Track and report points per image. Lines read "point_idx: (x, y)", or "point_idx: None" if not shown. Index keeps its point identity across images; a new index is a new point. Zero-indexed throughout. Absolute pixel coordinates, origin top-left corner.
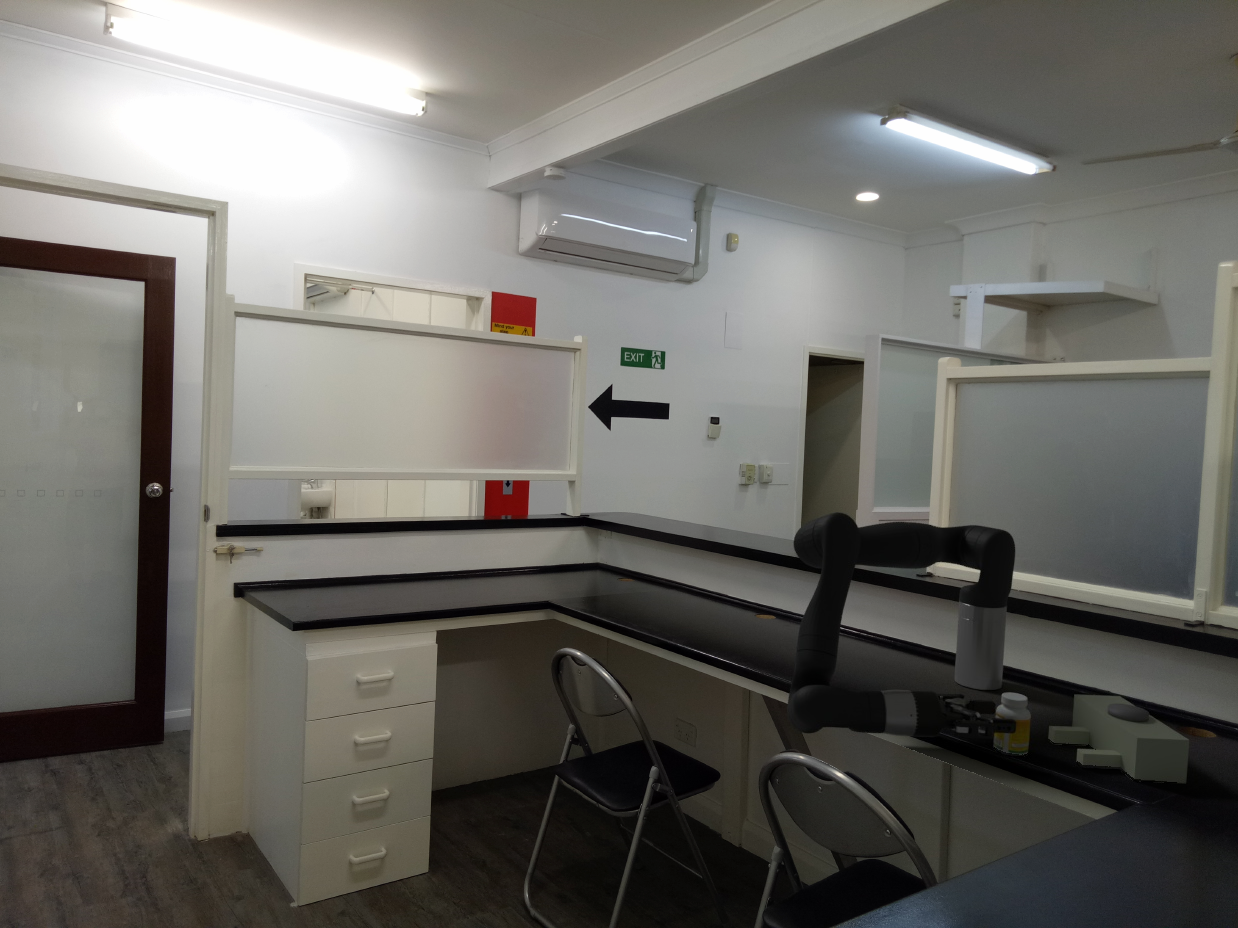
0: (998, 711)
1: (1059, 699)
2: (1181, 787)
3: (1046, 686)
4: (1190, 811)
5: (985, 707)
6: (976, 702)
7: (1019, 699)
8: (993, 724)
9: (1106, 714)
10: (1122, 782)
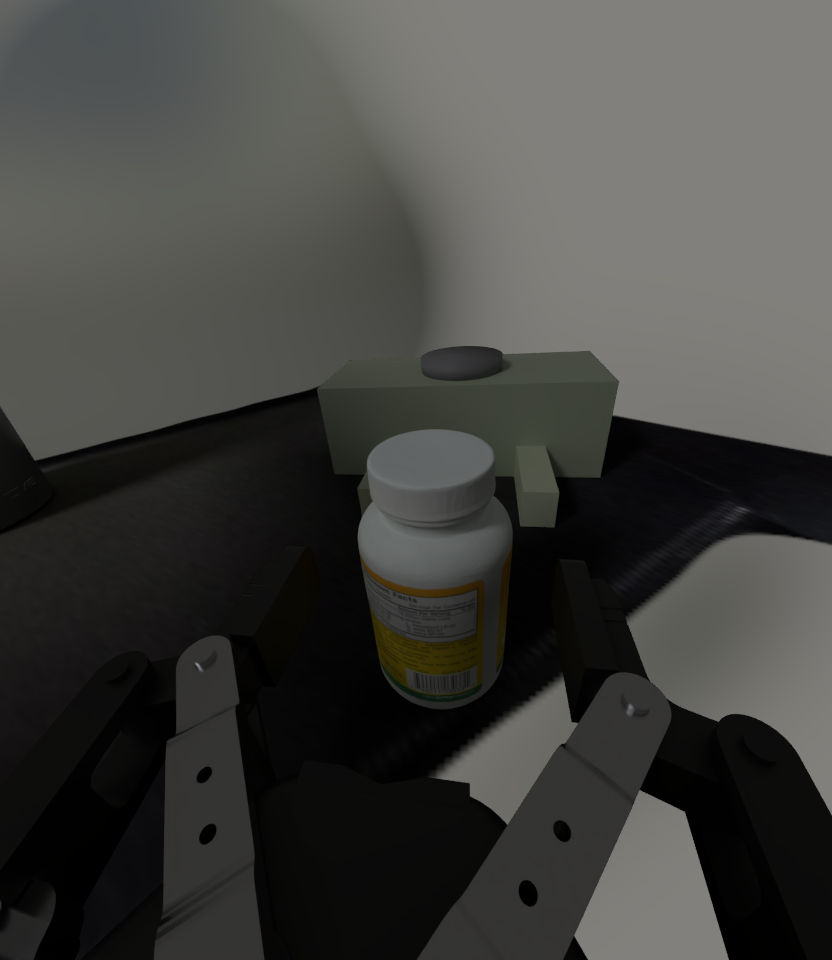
0: (432, 578)
1: (186, 442)
2: None
3: (125, 437)
4: (731, 460)
5: (295, 603)
6: (262, 628)
7: (477, 452)
8: (769, 729)
9: (456, 383)
10: (618, 494)
